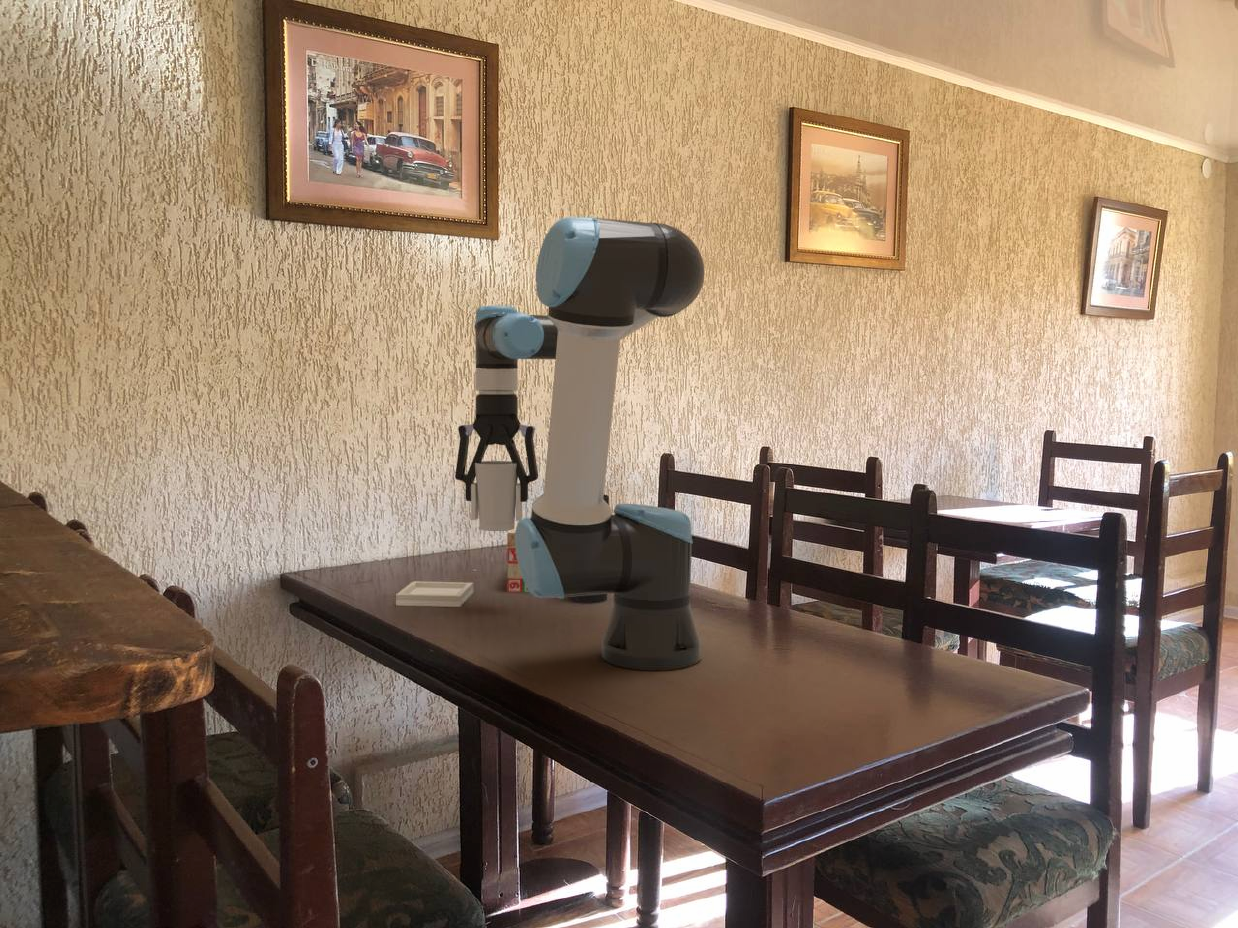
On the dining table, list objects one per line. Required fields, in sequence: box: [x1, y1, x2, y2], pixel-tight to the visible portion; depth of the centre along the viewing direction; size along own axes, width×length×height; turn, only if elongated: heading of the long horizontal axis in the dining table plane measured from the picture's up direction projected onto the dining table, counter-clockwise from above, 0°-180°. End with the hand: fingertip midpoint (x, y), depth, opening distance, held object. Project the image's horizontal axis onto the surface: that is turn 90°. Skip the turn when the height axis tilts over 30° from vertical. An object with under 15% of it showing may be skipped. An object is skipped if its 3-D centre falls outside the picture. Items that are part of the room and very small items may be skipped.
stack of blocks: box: [506, 522, 532, 594], centre depth 204 cm, size 21×6×12 cm, turn 0°
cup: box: [475, 460, 519, 532], centre depth 178 cm, size 8×8×12 cm
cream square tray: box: [395, 580, 474, 608], centre depth 188 cm, size 12×12×2 cm
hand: (496, 519), depth 179 cm, fingers closed on cup, 7 cm apart
